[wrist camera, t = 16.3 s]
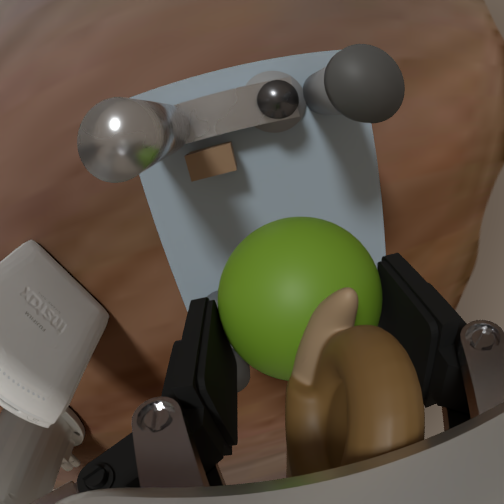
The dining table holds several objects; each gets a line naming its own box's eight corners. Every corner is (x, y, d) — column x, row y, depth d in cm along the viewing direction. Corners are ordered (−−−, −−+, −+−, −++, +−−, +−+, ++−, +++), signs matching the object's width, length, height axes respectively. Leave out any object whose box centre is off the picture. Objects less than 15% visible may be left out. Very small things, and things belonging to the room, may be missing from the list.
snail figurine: (217, 332, 14) (202, 615, 3) (226, 191, 12) (175, 632, 1) (333, 337, 15) (411, 585, 4) (365, 206, 12) (601, 469, 1)
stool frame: (374, 281, 24) (426, 355, 16) (202, 320, 25) (190, 410, 17) (342, 55, 17) (408, 23, 9) (132, 102, 18) (63, 99, 10)
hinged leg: (285, 74, 16) (322, 42, 8) (297, 121, 17) (342, 126, 9) (138, 113, 16) (68, 116, 9) (151, 159, 17) (91, 193, 10)
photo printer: (119, 315, 25) (64, 434, 13) (94, 339, 26) (41, 448, 14) (32, 228, 21) (-69, 310, 10) (13, 260, 22) (-74, 343, 11)
